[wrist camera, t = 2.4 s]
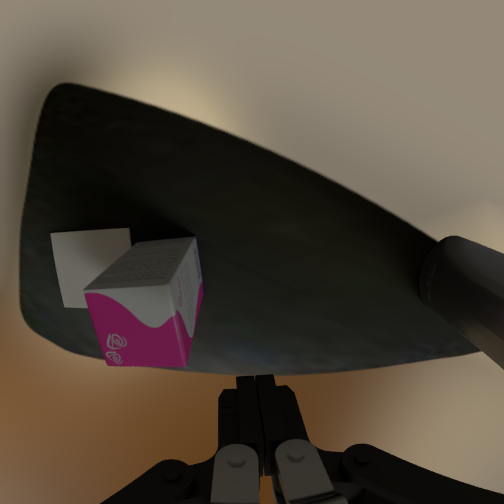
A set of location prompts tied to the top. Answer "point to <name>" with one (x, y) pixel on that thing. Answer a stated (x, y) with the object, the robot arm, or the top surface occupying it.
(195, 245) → the supplement box
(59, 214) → the top surface
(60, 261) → the mat
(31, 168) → the top surface
